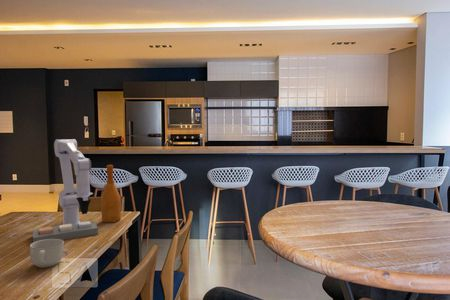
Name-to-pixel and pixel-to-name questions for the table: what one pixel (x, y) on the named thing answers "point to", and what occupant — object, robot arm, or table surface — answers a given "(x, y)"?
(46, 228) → the terracotta key
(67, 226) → the off-white key
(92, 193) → the robot arm
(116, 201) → the wine bottle
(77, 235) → the key console
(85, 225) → the pale blue key
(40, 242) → the teacup
